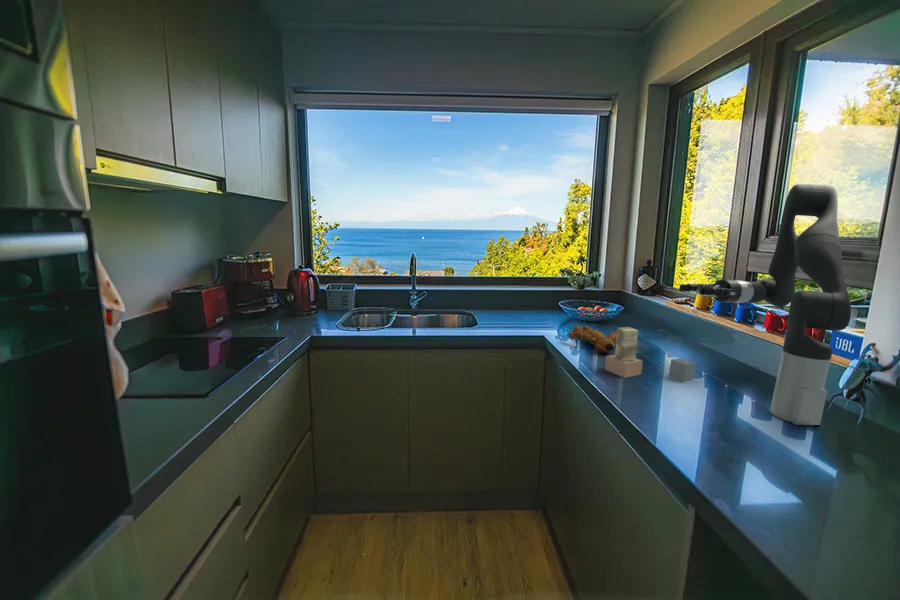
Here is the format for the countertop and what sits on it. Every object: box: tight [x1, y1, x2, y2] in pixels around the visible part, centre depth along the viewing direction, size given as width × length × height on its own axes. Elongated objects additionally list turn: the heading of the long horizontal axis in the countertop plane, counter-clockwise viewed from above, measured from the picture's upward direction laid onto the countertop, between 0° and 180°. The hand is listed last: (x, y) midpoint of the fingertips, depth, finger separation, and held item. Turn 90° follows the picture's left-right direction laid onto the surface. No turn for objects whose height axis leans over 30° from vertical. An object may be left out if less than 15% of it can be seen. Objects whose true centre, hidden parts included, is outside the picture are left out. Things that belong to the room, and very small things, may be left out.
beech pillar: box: [614, 326, 639, 361], centre depth 130 cm, size 4×4×10 cm
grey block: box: [668, 357, 697, 383], centre depth 127 cm, size 5×5×6 cm
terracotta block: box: [604, 354, 644, 379], centre depth 131 cm, size 8×8×5 cm
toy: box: [568, 324, 617, 354], centre depth 162 cm, size 20×7×30 cm
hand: (690, 289), depth 127 cm, fingers open, 8 cm apart
